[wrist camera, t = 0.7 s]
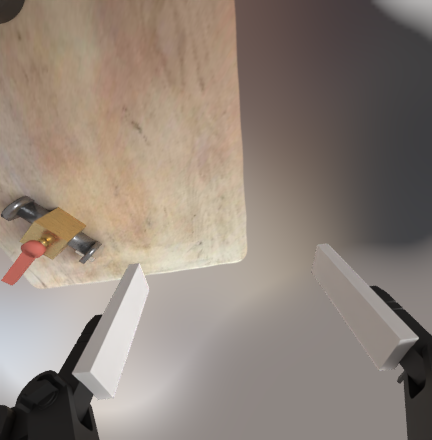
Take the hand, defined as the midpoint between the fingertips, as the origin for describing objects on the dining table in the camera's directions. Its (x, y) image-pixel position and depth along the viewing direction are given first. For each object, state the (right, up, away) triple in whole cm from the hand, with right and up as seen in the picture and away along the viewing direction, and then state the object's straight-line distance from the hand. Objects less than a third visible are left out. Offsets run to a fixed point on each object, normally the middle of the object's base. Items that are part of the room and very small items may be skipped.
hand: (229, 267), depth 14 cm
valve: (-39, +1, +33) cm, 51 cm away
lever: (-42, -5, +26) cm, 49 cm away
